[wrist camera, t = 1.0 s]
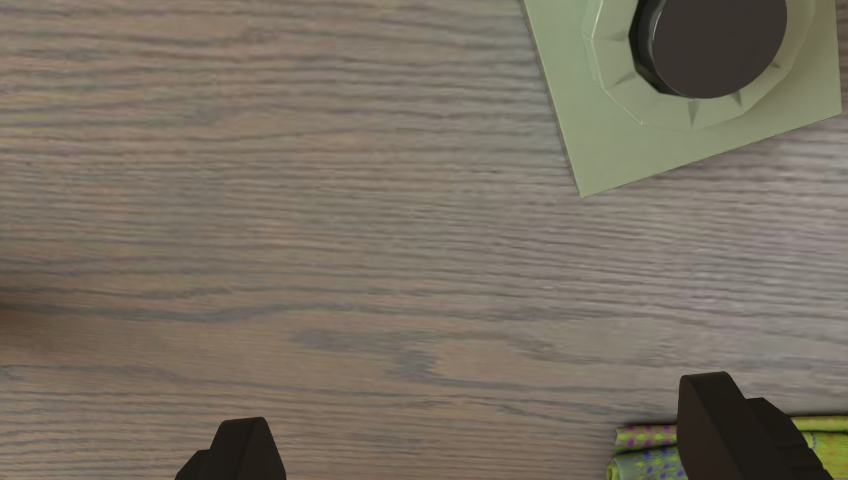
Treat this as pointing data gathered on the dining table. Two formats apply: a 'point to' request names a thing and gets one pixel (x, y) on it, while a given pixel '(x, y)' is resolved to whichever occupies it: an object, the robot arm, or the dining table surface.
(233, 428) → the robot arm
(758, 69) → the lid button
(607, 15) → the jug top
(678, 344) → the dining table surface
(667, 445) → the dish towel
